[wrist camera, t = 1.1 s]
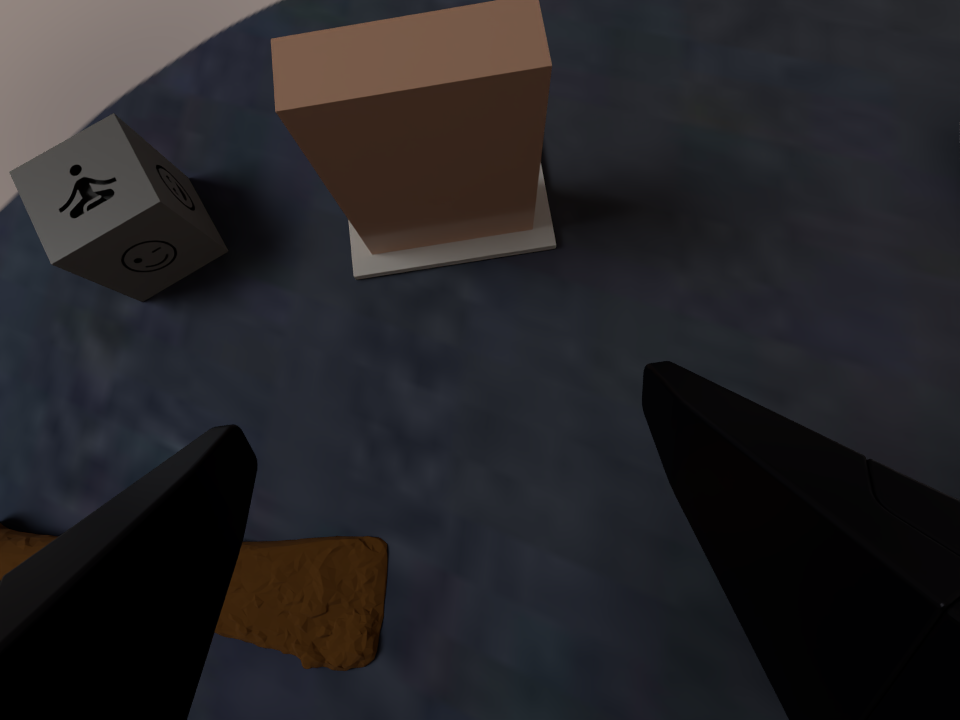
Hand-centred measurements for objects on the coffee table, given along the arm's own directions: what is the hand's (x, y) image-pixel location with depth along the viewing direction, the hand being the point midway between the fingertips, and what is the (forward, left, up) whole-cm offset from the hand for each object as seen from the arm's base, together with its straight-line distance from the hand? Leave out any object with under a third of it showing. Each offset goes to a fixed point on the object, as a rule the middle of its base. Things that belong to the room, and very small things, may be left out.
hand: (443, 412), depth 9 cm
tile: (+7, +8, -13) cm, 17 cm away
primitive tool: (-13, +6, -14) cm, 20 cm away
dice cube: (-3, +19, -14) cm, 24 cm away
